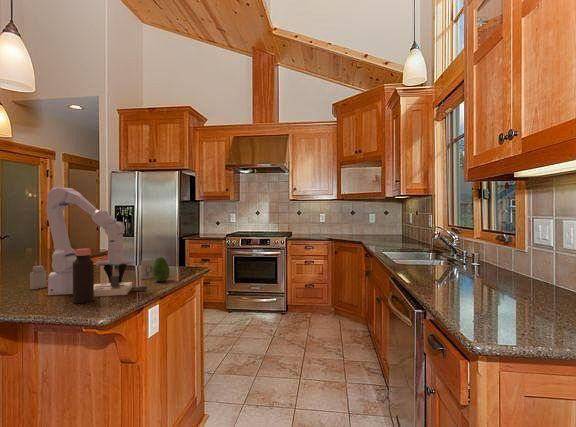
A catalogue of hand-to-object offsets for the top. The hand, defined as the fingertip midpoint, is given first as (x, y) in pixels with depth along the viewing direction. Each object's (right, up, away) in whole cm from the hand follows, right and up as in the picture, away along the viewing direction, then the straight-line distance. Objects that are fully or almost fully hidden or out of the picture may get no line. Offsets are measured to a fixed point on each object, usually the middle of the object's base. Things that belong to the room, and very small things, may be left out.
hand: (115, 282), depth 139 cm
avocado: (+12, -4, +19) cm, 23 cm away
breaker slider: (0, -1, 0) cm, 1 cm away
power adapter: (-38, -4, +6) cm, 38 cm away
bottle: (-5, -5, -14) cm, 16 cm away
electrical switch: (+3, -4, +28) cm, 28 cm away
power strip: (+1, -4, 0) cm, 4 cm away
